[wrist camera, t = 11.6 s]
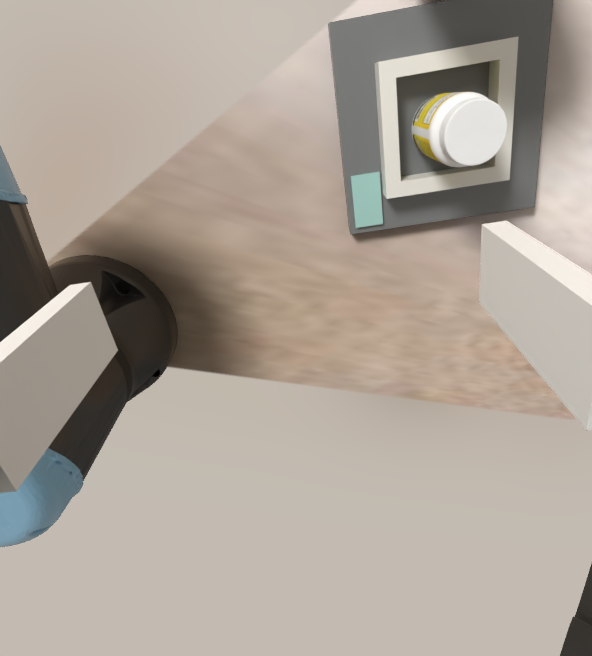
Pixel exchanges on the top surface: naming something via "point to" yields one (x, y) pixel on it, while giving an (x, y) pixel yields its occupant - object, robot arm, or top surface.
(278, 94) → the top surface
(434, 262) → the top surface
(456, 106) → the supplement bottle
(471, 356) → the top surface
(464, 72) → the dock
